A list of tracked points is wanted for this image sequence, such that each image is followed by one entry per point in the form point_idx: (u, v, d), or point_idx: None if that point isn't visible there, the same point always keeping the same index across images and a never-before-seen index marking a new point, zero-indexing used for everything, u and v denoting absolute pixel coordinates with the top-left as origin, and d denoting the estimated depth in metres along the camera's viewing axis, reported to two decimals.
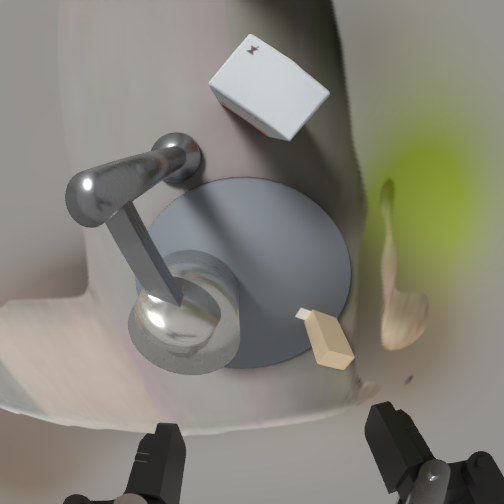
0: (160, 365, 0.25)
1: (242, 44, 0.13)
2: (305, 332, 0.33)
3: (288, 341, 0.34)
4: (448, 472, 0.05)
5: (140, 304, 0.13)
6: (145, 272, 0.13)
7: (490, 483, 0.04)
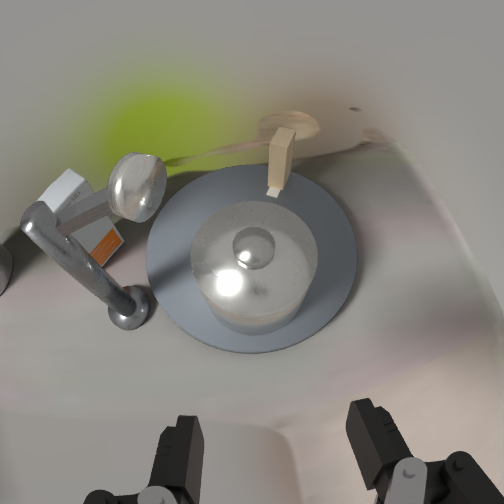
0: (307, 280, 0.21)
1: None
2: (295, 187, 0.35)
3: (308, 199, 0.34)
4: (424, 471, 0.06)
5: (111, 197, 0.15)
6: (95, 200, 0.16)
7: (472, 482, 0.04)
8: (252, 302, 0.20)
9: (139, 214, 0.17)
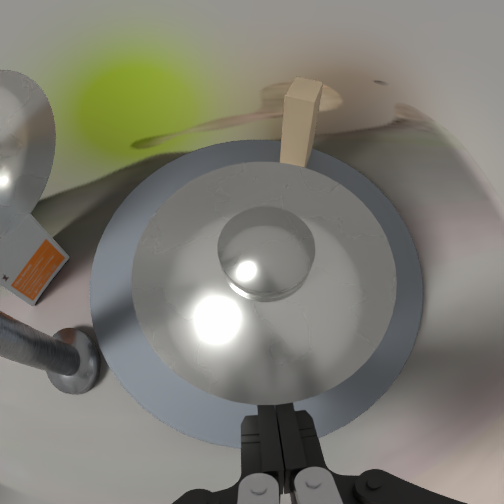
0: (383, 318, 0.09)
1: None
2: (321, 171, 0.22)
3: None
4: (329, 484, 0.06)
5: None
6: None
7: (399, 497, 0.05)
8: (268, 380, 0.08)
9: None
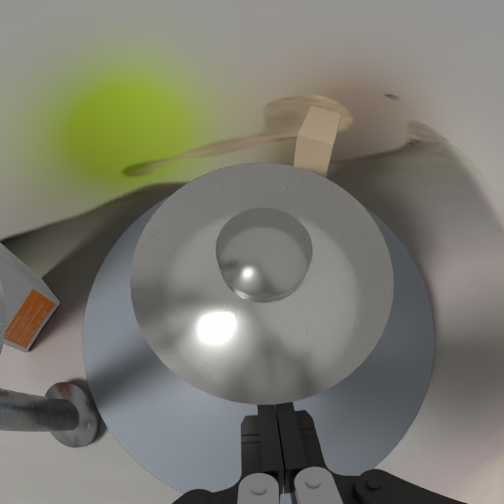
0: (380, 318, 0.09)
1: None
2: None
3: None
4: (329, 484, 0.06)
5: None
6: None
7: (399, 497, 0.05)
8: (266, 380, 0.08)
9: None
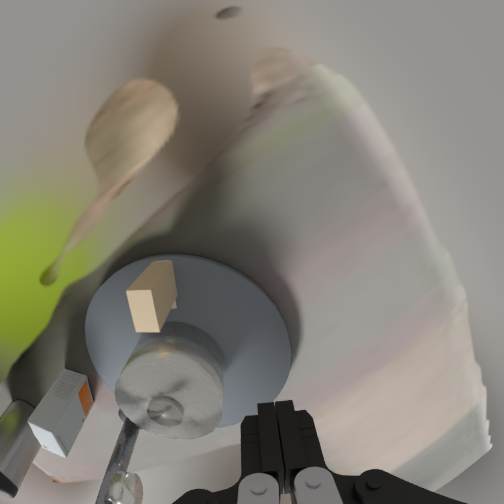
0: (218, 413, 0.22)
1: (47, 449, 0.22)
2: (189, 284, 0.27)
3: (212, 294, 0.27)
4: (329, 484, 0.06)
5: None
6: None
7: (399, 497, 0.05)
8: (191, 433, 0.23)
9: (141, 492, 0.18)
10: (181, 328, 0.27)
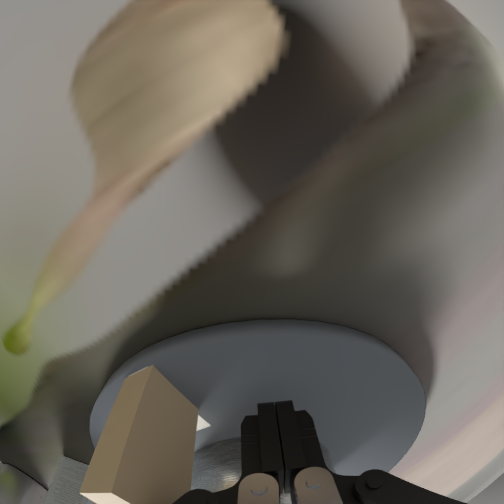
0: None
1: None
2: (207, 388, 0.12)
3: (257, 386, 0.12)
4: (329, 484, 0.06)
5: None
6: None
7: (399, 497, 0.05)
8: None
9: None
10: (234, 453, 0.12)
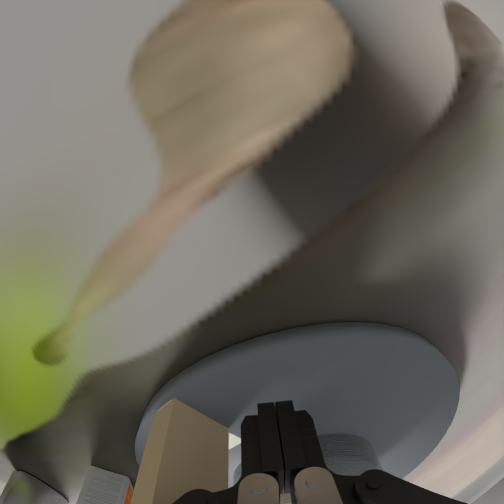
0: None
1: None
2: (230, 408, 0.13)
3: (277, 398, 0.13)
4: (329, 484, 0.06)
5: None
6: None
7: (399, 497, 0.05)
8: None
9: None
10: None
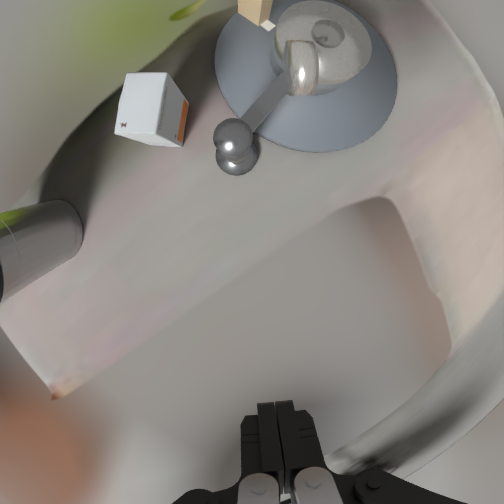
0: (357, 21, 0.21)
1: (122, 132, 0.21)
2: None
3: (287, 6, 0.26)
4: (329, 484, 0.06)
5: (299, 87, 0.16)
6: (275, 92, 0.17)
7: (399, 497, 0.05)
8: (363, 54, 0.22)
9: None
10: None
